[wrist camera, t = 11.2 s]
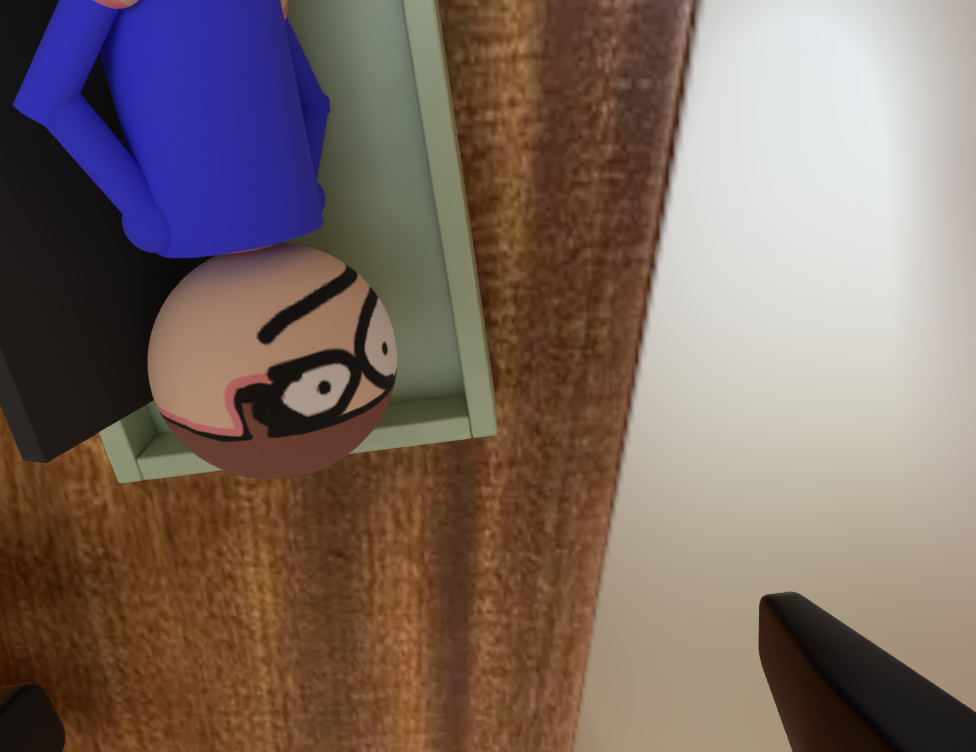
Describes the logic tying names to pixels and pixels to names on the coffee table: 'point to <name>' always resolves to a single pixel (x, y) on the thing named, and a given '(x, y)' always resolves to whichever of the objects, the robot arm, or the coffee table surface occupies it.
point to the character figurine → (176, 238)
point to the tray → (380, 228)
